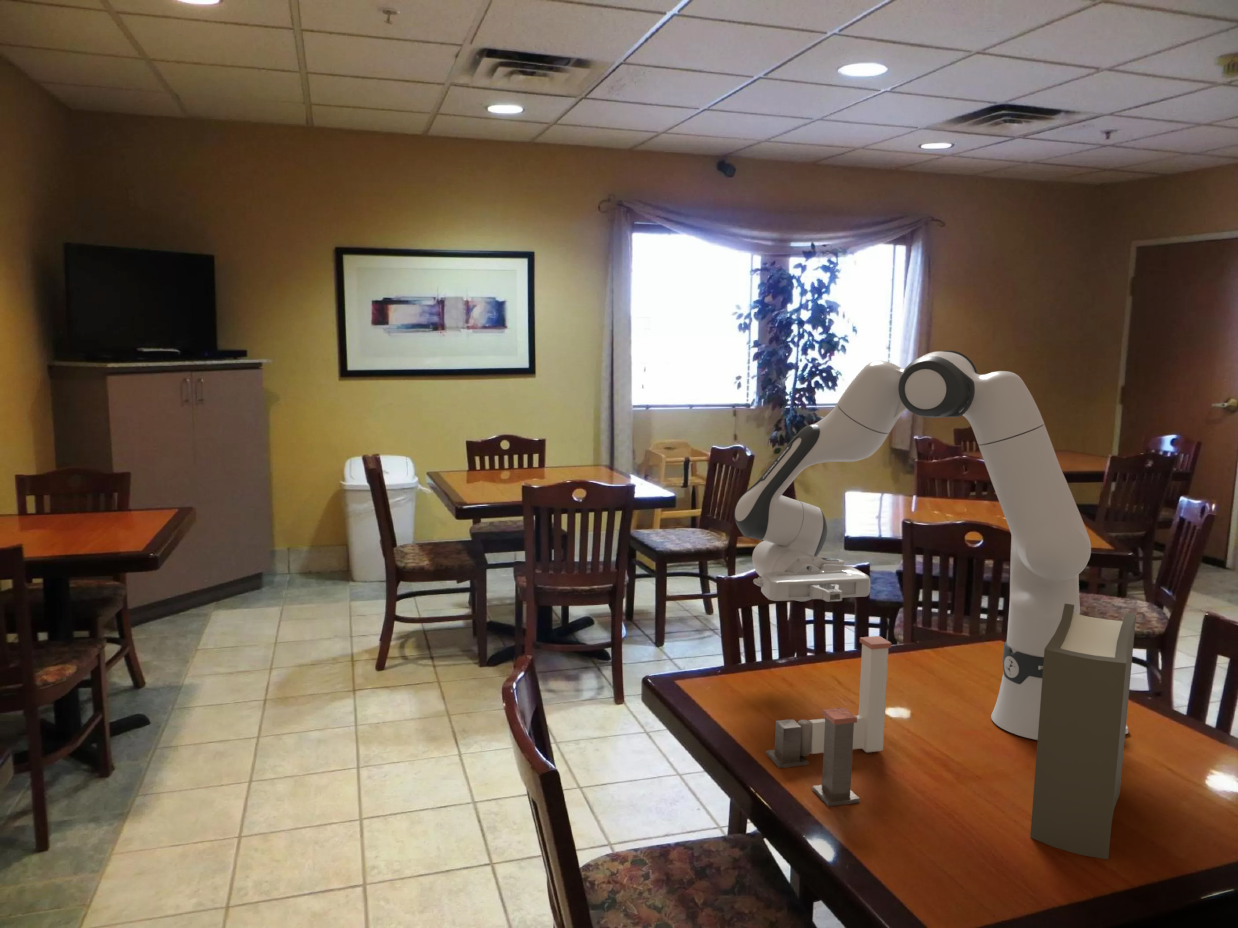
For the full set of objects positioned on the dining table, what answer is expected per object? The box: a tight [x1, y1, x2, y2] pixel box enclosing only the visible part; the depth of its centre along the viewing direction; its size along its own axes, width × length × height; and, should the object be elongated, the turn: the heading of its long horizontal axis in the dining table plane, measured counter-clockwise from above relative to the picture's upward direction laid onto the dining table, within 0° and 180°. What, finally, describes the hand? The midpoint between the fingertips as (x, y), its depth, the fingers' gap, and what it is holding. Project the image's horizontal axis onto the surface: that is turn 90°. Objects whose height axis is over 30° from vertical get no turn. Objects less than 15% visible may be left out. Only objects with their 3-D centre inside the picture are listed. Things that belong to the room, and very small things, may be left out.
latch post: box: [812, 707, 861, 807], centre depth 130 cm, size 5×5×13 cm
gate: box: [797, 635, 892, 757], centre depth 143 cm, size 15×4×18 cm, turn 104°
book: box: [1029, 604, 1137, 860], centre depth 124 cm, size 22×9×28 cm, turn 147°
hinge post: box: [765, 718, 809, 769], centre depth 142 cm, size 5×5×6 cm
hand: (835, 596), depth 156 cm, fingers closed
